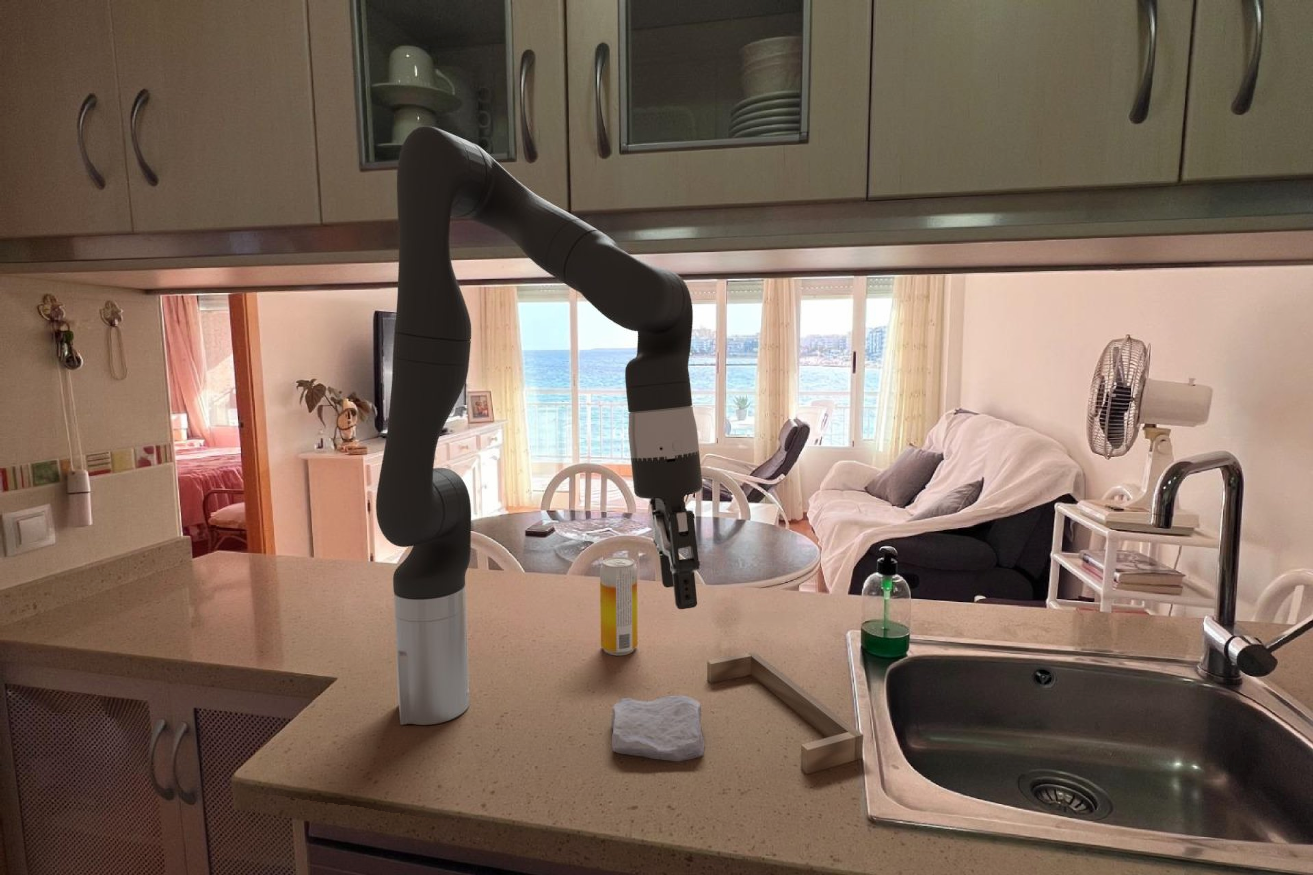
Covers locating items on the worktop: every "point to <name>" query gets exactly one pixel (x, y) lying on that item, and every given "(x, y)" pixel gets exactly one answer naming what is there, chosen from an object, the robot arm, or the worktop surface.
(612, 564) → the beer can
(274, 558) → the worktop surface
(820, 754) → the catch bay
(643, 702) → the stone block
